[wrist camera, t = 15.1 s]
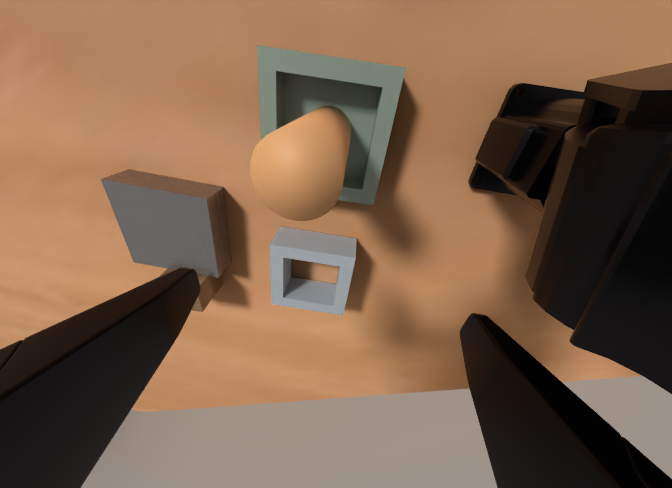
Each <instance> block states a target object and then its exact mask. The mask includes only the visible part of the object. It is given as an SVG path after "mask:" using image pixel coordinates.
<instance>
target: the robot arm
mask: <svg viewBox="0 0 672 488" xmlns="http://www.w3.org/2000/svg"><path fill="white" fill-rule="evenodd" d="M518 89H520V90H521V92H520V95H519V96H518V97H515V92H516V91H517V90H518ZM476 161H477V162H476V165H475V167H474V169H473V171H472V173H471V176H470V178H469V181H468V182H469V185H470V186H471V187H472V188H475V189H482V190H488V191H495V192H501V193H507V194H514V195H518V196H519V197H521V198H522V199H524V200H525V201H527V202H528V203H529V204H531V205H532V206H534V207H535V208H537V209H538V210H539V211H541V212H542V215H541V218H540V222H539V225H538V229H537V232H536V236H535V239H534V243H533V246H532V250H531V253H530V257H529V260H528V263H527V269H526V279H527V281H528V283H529V285H530V287H531V290H532V291H533V292H534V295H533V299H534V301H535V302H536V303H537V304H538V305H539V306H540V307H542V308H543V309H544V310H545V311H546V312H547V313H548V314H550V315H551V316H553V317H554V318H556V319H557V320H559V321H560V322H561V323H563V324H564V325H566V326H568V327H569V328H571V329H573V330H574V332H573V334H572V336H571V338H570V339H569V340H570V342H571V344H573V345H574V346H576V347H579V348H581V349H584V350H587V351H590V352H592V353H595V354H598V355H600V356H603V357H606V358H609V359H611V360H613V361H615V362H617V363H619V364H621V365H623V366H625V367H626V368H628V369H630V370H632V371H634V372H636V373H638V374H640V375H642V376H644V377H646V378H647V379H649V380H651V381H652V382H654V383H655V384H657V385H659V386H660V387H662V388H663V389H665V390H666V391H668V392H669V393H671V394H672V63H669V64H664V65H659V66H654V67H649V68H644V69H639V70H634V71H629V72H625V73H620V74H615V75H610V76H605V77H600V78H595V79H590V80H588V81H587V84H586V87H585V90H584V92H578V91H572V90H565V89H558V88H552V87H545V86H539V85H532V84H526V83H519V84H515V85H513V86H512V87H511V88H510V89H509V91H508V93H507V95H506V97H505V100H504V102H503V104H502V106H501V108H500V111H499V113H498V115H497V117H496V118H495V119H494V120H492V122H491V124H490V126H489V129H488V131H487V133H486V135H485V138H484V140H483V142H482V145H481V147H480V149H479V151H478V154H477V156H476ZM478 178H479V181H478V182H477V183H474V181H475V180H476V179H478ZM200 290H201V287H200V283H199V279H198V275H197V272H196V270H195V269H192V268H185V267H181V268H178V269H176V270H174V271H172V272H169V273H167V274H165V275H163V276H161V277H158V278H156V279H154V280H152V281H150V282H147V283H145V284H143V285H141V286H139V287H137V288H134V289H132V290H130V291H128V292H126V293H123V294H121V295H119V296H117V297H115V298H112V299H110V300H108V301H106V302H104V303H101V304H99V305H97V306H95V307H93V308H90V309H88V310H86V311H84V312H82V313H79V314H77V315H75V316H73V317H71V318H68V319H66V320H64V321H62V322H60V323H57V324H55V325H53V326H51V327H49V328H46V329H44V330H42V331H40V332H38V333H35V334H33V335H31V336H29V337H27V338H25V339H24V340H20V341H18V342H15V343H13V344H11V345H9V346H7V347H5V348H2V349H0V488H81V486H82V484H83V483H84V482H85V480H86V478H87V477H88V475H89V474H90V472H91V471H92V469H93V468H94V466H95V464H96V463H97V461H98V460H99V458H100V457H101V455H102V453H103V452H104V450H105V449H106V447H107V445H108V444H109V443H110V441H111V439H112V438H113V437H114V435H115V433H116V432H117V430H118V429H119V427H120V426H121V424H122V422H123V421H124V419H125V418H126V416H127V415H128V413H129V412H130V410H131V409H132V407H133V405H134V404H135V402H136V401H137V399H138V398H139V396H140V395H141V393H142V391H143V390H144V388H145V387H146V385H147V384H148V382H149V381H150V379H151V378H152V376H153V374H154V373H155V371H156V370H157V368H158V367H159V365H160V364H161V362H162V360H163V359H164V357H165V356H166V354H167V353H168V351H169V350H170V348H171V346H172V345H173V343H174V342H175V340H176V338H177V337H178V335H179V333H180V331H181V330H182V328H183V326H184V324H185V322H186V320H187V318H188V316H189V314H190V312H191V310H192V308H193V306H194V304H195V302H196V300H197V298H198V296H199V294H200ZM460 339H461V345H462V350H463V356H464V362H465V368H466V373H467V379H468V383H469V387H470V391H471V395H472V398H473V402H474V405H475V409H476V413H477V416H478V419H479V423H480V427H481V430H482V434H483V437H484V441H485V444H486V448H487V452H488V455H489V459H490V462H491V466H492V469H493V473H494V477H495V480H496V483H497V487H498V488H672V479H671V478H670V477H669V476H667V475H666V474H665V473H664V472H663V471H662V470H660V469H659V468H658V467H657V466H656V465H655V464H654V463H653V462H651V461H650V460H649V459H648V458H647V457H646V456H644V455H643V454H642V453H641V452H640V451H639V450H638V449H636V448H635V447H634V446H633V445H632V444H631V443H630V442H629V441H628V440H626V439H625V438H624V437H621V435H620V434H619V433H618V432H617V431H616V430H615V429H614V428H613V427H612V426H610V425H609V424H608V423H607V422H606V421H605V420H604V419H602V418H601V417H600V416H599V415H598V414H597V413H596V412H595V411H594V410H593V409H591V408H590V407H589V406H588V405H587V404H586V403H585V402H583V401H582V400H581V399H580V398H579V397H578V396H577V395H576V394H574V393H573V392H572V391H571V390H570V389H569V388H568V387H566V386H565V385H564V384H563V383H562V382H561V381H560V380H559V379H558V378H556V377H555V376H554V375H553V374H552V373H551V372H550V371H548V370H547V369H546V368H545V367H544V366H543V365H542V364H541V363H539V362H538V361H537V360H536V359H535V358H534V357H533V356H532V355H530V354H529V353H528V352H527V351H526V350H525V349H524V348H523V347H521V346H520V345H519V344H518V343H517V342H516V341H515V340H513V339H512V338H511V337H510V336H509V335H508V334H507V333H506V332H504V331H503V330H502V329H501V328H500V327H499V326H498V325H497V324H495V323H494V322H493V321H492V320H491V319H490V318H489V317H487V316H486V315H482V314H476V313H472V314H471V315H470V316H469V317H468V319H467V320H466V322H465V323H464V325H463V326H462V328H461V330H460Z"/></svg>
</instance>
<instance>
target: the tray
mask: <svg viewBox="0 0 672 488" xmlns="http://www.w3.org/2000/svg"><path fill="white" fill-rule="evenodd" d="M257 54H258V76H259V99H260V122H261V140H262V139H263V138H264V137H265V136H266V135H268V134H269V133H271V132H273V131H275V130H277V129H279V128H281V127H283V126H284V125H286V124H288V123H290V122H292V121H294V120H296V119H298V118H300V117H302V116H304V115H306V114H308V113H309V112H311V111H313V110H315V109H317V108H319V107H322V106H334V107H337V108H339V109H340V110H342V111H343V112H344V113H345V114H346V116H347V117H348V119H349V121H350V124H351V129H352V134H351V141H350V147H349V152H348V158H347V164H346V170H345V175H344V181H343V187H342V192H341V194H340V197H339V199H338V200H342V201H349V202H355V203H361V204H368V205H374V202H375V198H376V193H377V189H378V185H379V181H380V176H381V172H382V168H383V163H384V159H385V155H386V151H387V146H388V142H389V138H390V134H391V129H392V125H393V121H394V116H395V112H396V108H397V104H398V99H399V95H400V91H401V87H402V82H403V78H404V74H405V69H406V68H404V67H398V66H391V65H384V64H378V63H371V62H365V61H358V60H352V59H345V58H339V57H332V56H326V55H319V54H312V53H306V52H299V51H293V50H286V49H280V48H273V47H267V46H260V45H257Z"/></svg>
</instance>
